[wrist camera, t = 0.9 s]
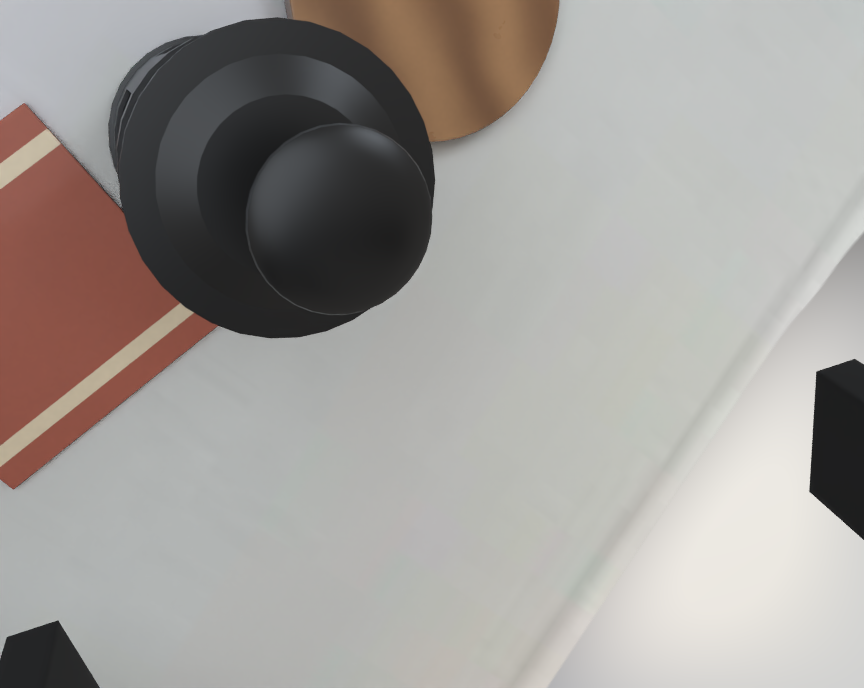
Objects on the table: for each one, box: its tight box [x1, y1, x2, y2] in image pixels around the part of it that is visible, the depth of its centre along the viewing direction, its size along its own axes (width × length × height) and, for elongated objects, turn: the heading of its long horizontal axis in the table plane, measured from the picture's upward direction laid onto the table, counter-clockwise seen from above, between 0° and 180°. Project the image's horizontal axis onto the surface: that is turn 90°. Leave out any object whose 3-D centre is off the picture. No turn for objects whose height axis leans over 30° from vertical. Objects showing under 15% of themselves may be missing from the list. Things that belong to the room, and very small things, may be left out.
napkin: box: [0, 103, 218, 489], centre depth 36 cm, size 13×13×1 cm
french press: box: [109, 17, 435, 338], centre depth 27 cm, size 12×9×23 cm
